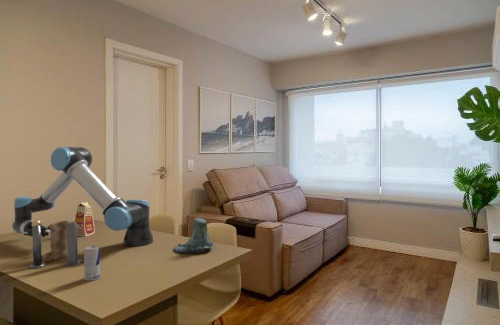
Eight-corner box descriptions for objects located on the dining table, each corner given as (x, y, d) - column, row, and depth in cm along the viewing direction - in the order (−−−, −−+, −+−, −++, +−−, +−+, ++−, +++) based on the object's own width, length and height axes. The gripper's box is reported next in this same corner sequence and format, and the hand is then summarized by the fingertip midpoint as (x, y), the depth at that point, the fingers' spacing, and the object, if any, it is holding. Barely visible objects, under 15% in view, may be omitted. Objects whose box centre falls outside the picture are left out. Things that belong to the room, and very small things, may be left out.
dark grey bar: (62, 266, 141) (61, 224, 140) (68, 262, 147) (67, 221, 146) (78, 265, 142) (77, 223, 141) (82, 261, 148) (81, 221, 147)
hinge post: (49, 263, 145) (47, 218, 144) (39, 268, 139) (38, 221, 138) (35, 263, 145) (34, 218, 144) (25, 268, 139) (24, 221, 138)
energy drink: (102, 275, 130) (101, 245, 130) (96, 280, 125) (95, 249, 124) (88, 275, 130) (87, 245, 129) (81, 281, 124) (81, 249, 124)
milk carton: (86, 236, 193) (85, 202, 192) (72, 235, 195) (71, 201, 194) (96, 232, 202) (95, 199, 201) (82, 232, 204) (82, 199, 203)
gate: (43, 264, 143) (42, 227, 143) (39, 263, 144) (38, 227, 143) (68, 254, 157) (67, 220, 157) (64, 254, 157) (64, 220, 157)
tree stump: (190, 242, 179) (197, 211, 177) (219, 257, 168) (226, 224, 166) (165, 249, 163) (172, 214, 161) (194, 266, 153) (203, 229, 151)
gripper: (45, 233, 178) (67, 239, 164) (17, 238, 167) (38, 245, 154) (44, 219, 177) (67, 224, 164) (16, 223, 167) (38, 229, 153)
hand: (53, 234), depth 159 cm, fingers closed
